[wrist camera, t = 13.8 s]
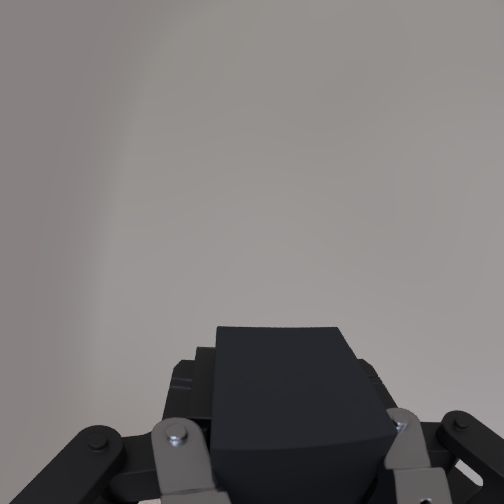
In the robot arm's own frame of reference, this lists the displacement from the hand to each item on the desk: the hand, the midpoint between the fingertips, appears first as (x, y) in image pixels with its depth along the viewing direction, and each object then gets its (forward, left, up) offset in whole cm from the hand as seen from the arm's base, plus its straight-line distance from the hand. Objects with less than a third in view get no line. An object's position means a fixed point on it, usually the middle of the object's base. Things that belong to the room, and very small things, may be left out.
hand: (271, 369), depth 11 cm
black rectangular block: (+2, -2, -7) cm, 8 cm away
